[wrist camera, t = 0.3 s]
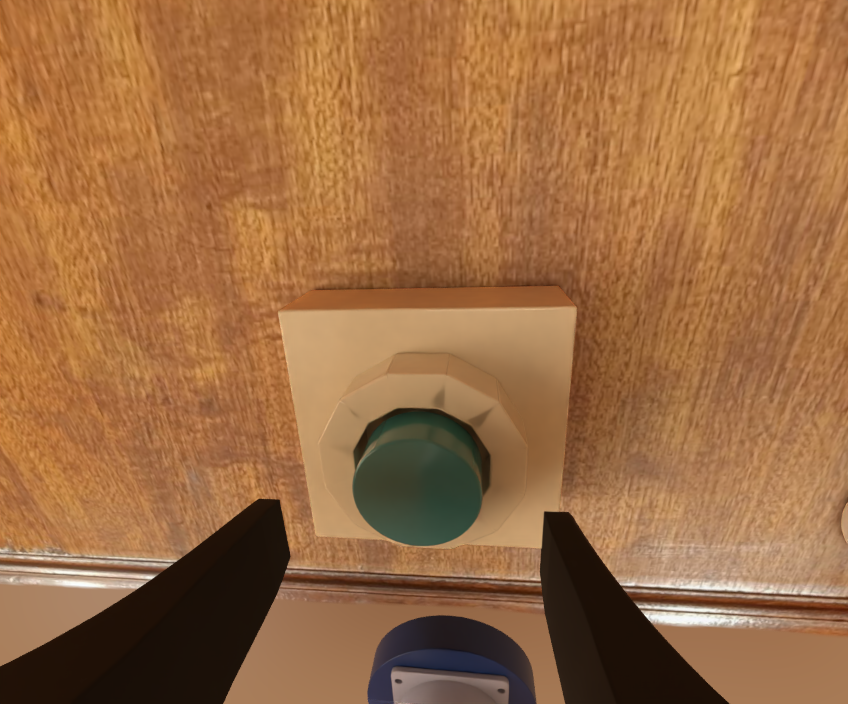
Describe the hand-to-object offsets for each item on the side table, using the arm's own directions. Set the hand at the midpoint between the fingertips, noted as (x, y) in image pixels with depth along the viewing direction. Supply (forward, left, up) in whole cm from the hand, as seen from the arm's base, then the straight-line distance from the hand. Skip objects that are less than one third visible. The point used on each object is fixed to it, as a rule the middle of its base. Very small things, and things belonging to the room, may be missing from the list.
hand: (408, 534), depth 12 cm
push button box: (0, 0, -8) cm, 8 cm away
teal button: (0, 0, -3) cm, 3 cm away
